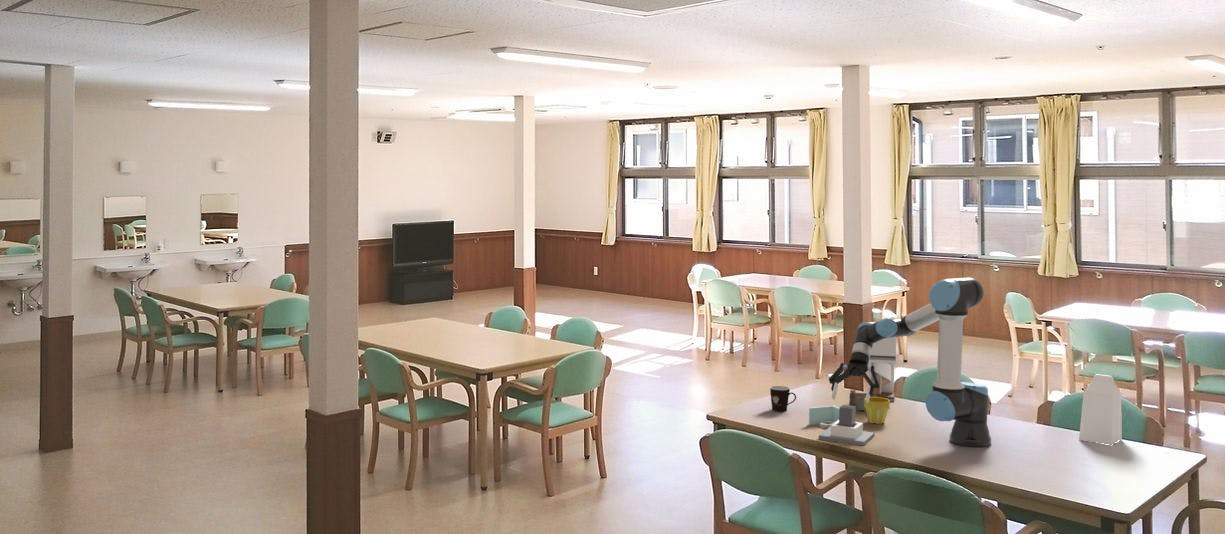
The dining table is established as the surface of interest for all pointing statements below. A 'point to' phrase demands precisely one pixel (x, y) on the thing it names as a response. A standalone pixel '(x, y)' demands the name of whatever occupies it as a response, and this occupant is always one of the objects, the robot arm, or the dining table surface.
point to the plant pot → (877, 409)
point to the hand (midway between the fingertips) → (849, 399)
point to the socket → (847, 434)
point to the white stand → (883, 366)
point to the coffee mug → (780, 398)
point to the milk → (1101, 411)
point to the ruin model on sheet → (858, 399)
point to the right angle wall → (823, 416)
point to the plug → (847, 415)
